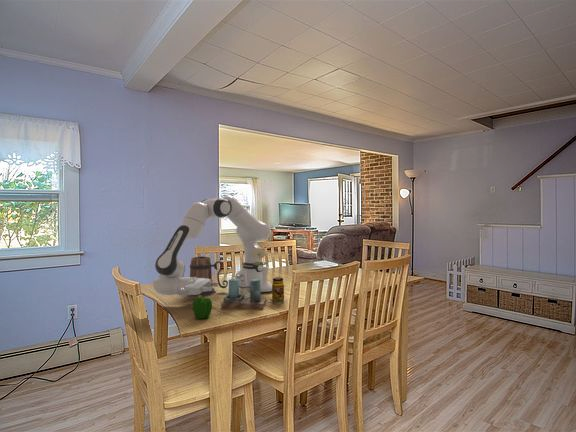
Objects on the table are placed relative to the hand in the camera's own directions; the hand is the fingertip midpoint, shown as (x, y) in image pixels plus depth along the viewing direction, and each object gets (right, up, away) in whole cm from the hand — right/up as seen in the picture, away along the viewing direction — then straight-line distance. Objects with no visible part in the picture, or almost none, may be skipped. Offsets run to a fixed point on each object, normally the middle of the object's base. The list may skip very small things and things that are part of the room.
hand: (214, 286), depth 163 cm
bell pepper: (-1, -10, -19) cm, 21 cm away
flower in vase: (+22, -9, +28) cm, 37 cm away
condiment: (+30, -9, +7) cm, 32 cm away
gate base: (+15, -9, -1) cm, 17 cm away
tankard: (-10, -9, +26) cm, 29 cm away
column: (+10, -7, 0) cm, 12 cm away
